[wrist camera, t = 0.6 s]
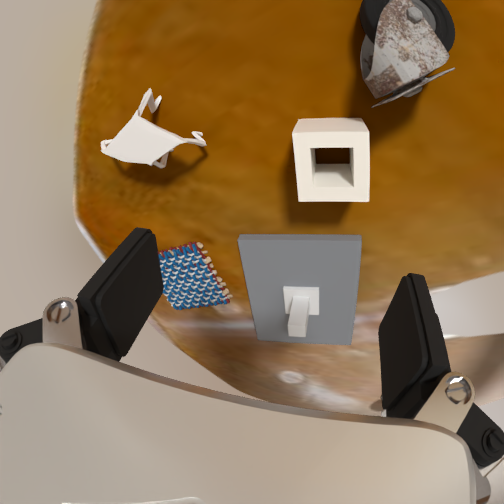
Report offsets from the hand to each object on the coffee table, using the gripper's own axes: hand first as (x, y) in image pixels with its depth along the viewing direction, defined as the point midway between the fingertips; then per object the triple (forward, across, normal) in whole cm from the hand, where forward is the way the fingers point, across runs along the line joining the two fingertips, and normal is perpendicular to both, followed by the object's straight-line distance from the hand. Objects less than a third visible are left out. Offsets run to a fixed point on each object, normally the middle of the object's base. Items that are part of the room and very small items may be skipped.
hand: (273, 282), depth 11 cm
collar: (+21, -3, +1) cm, 21 cm away
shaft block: (+21, -2, +20) cm, 29 cm away
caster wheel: (+21, -7, -12) cm, 25 cm away
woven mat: (+22, +14, +21) cm, 34 cm away
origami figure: (+22, +16, 0) cm, 27 cm away
